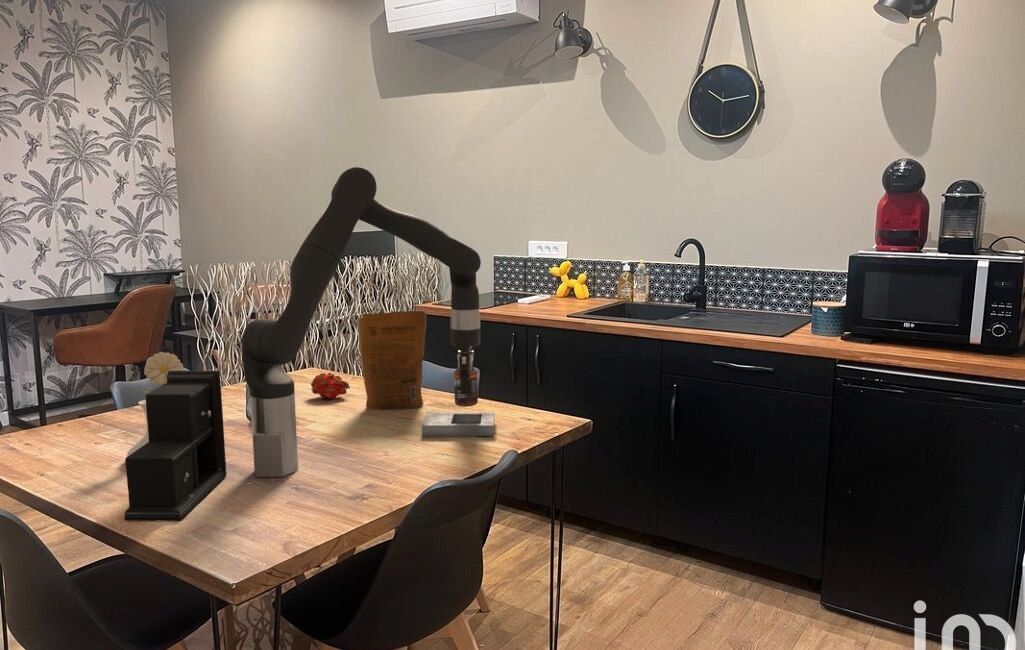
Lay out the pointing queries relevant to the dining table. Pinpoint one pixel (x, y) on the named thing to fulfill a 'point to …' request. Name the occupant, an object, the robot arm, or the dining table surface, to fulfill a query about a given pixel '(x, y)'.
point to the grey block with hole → (458, 424)
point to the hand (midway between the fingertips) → (466, 390)
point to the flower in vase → (156, 382)
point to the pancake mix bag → (392, 358)
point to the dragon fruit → (329, 386)
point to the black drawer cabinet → (178, 448)
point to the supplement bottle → (472, 397)
